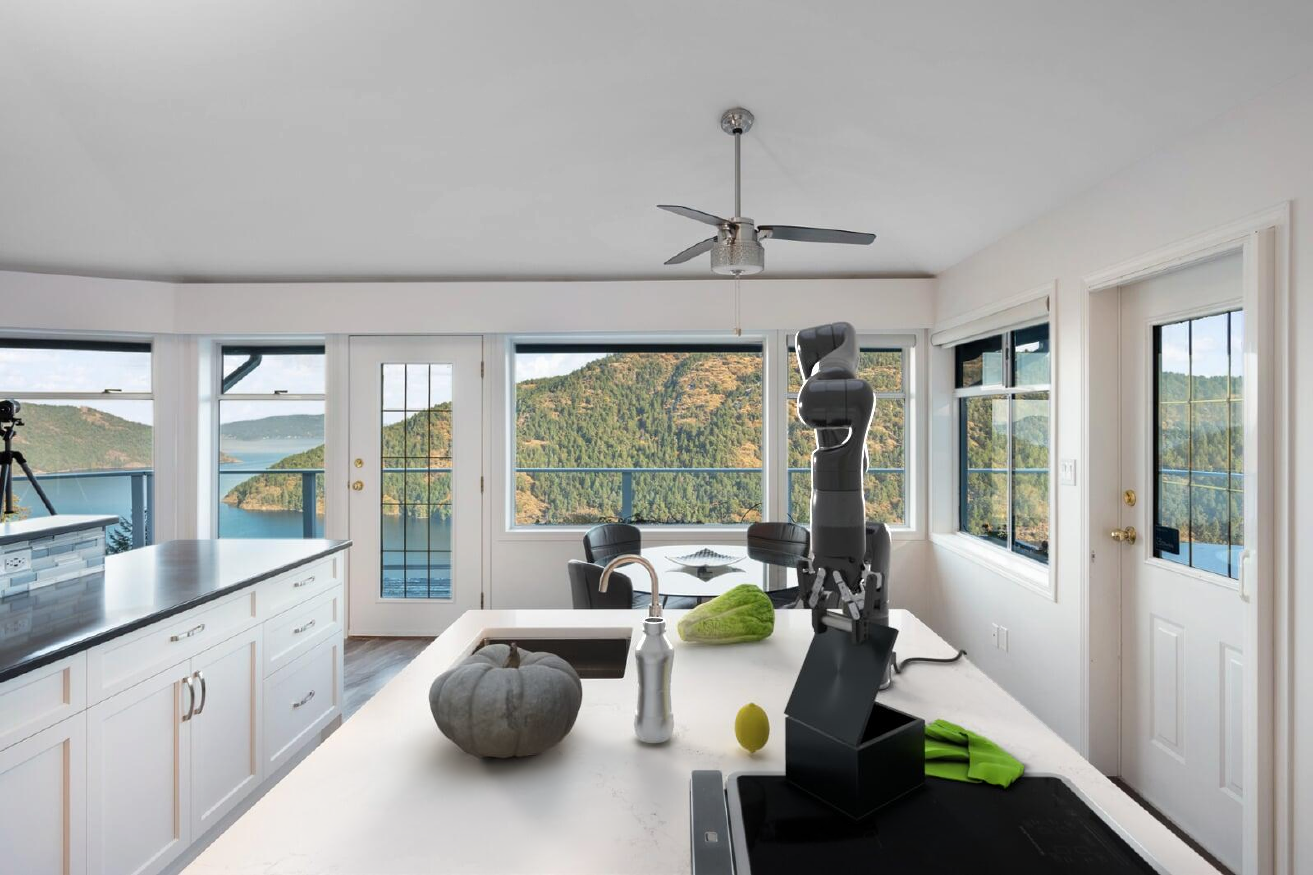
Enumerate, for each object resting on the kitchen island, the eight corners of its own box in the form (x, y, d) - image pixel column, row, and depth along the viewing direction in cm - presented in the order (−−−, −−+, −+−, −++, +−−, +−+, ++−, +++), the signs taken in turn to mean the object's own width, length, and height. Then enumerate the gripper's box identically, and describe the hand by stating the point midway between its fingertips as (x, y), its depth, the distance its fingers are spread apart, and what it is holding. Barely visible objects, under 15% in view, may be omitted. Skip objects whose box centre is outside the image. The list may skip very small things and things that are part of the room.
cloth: (1025, 799, 92) (1025, 781, 92) (864, 761, 102) (864, 746, 102) (1025, 739, 109) (1025, 725, 109) (888, 713, 120) (887, 699, 120)
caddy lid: (826, 611, 101) (808, 597, 99) (899, 631, 91) (881, 616, 88) (786, 714, 96) (766, 703, 93) (858, 748, 86) (837, 735, 83)
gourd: (415, 776, 93) (430, 648, 96) (428, 730, 116) (439, 629, 120) (590, 771, 99) (598, 652, 102) (568, 729, 123) (575, 633, 126)
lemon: (769, 762, 102) (768, 711, 102) (733, 759, 103) (733, 708, 103) (770, 746, 107) (770, 697, 107) (736, 743, 108) (736, 695, 108)
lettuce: (694, 667, 152) (672, 653, 165) (785, 639, 160) (757, 627, 174) (683, 607, 152) (662, 598, 166) (774, 582, 160) (747, 575, 174)
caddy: (852, 753, 105) (852, 692, 105) (925, 787, 95) (925, 719, 95) (785, 784, 96) (784, 717, 96) (857, 825, 85) (857, 750, 85)
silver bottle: (633, 731, 113) (632, 615, 113) (672, 730, 113) (672, 614, 113) (635, 749, 106) (634, 626, 106) (676, 747, 107) (676, 625, 107)
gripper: (898, 523, 89) (899, 646, 89) (815, 513, 101) (816, 621, 101) (864, 529, 85) (865, 658, 85) (781, 517, 96) (782, 631, 97)
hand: (839, 638), depth 93 cm, fingers closed on caddy lid, 6 cm apart
